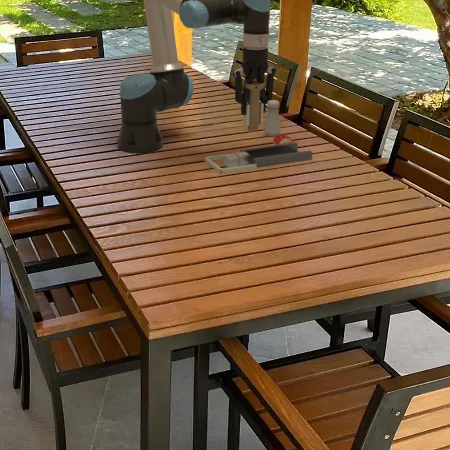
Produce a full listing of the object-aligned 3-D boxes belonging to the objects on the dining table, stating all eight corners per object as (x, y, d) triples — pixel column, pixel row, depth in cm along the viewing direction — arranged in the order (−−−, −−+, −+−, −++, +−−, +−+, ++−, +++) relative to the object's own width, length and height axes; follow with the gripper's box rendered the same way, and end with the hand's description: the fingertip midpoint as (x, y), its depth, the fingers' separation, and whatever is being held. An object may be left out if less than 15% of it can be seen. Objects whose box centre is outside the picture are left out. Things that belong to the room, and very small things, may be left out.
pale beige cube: (239, 166, 222) (239, 156, 221) (234, 163, 225) (234, 152, 224) (249, 165, 224) (249, 154, 222) (244, 162, 227) (244, 151, 225)
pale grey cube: (228, 169, 220) (228, 158, 219) (223, 165, 223) (223, 155, 222) (238, 167, 222) (238, 156, 220) (233, 164, 225) (233, 153, 223)
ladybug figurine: (279, 151, 239) (279, 141, 238) (268, 143, 247) (268, 133, 246) (297, 149, 241) (298, 139, 240) (285, 141, 250) (286, 131, 248)
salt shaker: (275, 140, 249) (276, 103, 244) (261, 137, 252) (261, 101, 247) (283, 136, 254) (284, 100, 249) (268, 133, 257) (269, 97, 251)
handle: (264, 132, 220) (266, 84, 214) (244, 133, 219) (246, 85, 213) (260, 127, 225) (262, 80, 218) (240, 128, 223) (242, 81, 217)
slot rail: (255, 170, 221) (255, 159, 219) (240, 160, 230) (240, 149, 229) (311, 162, 228) (312, 151, 227) (295, 152, 237) (295, 142, 236)
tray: (220, 176, 215) (220, 170, 215) (204, 163, 226) (204, 157, 225) (256, 171, 220) (256, 164, 219) (238, 159, 231) (238, 152, 230)
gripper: (234, 51, 205) (232, 130, 215) (287, 47, 211) (283, 124, 221) (224, 46, 211) (222, 123, 221) (275, 43, 218) (272, 118, 227)
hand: (252, 123), depth 221 cm, fingers closed on handle, 4 cm apart
